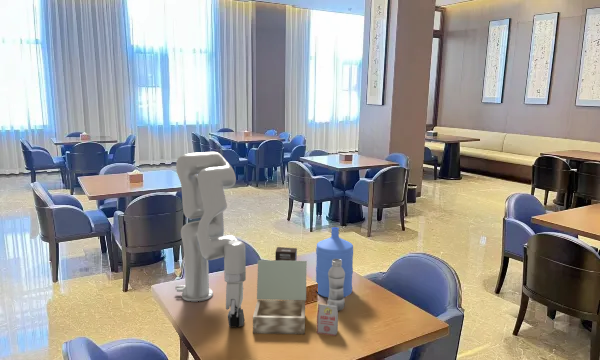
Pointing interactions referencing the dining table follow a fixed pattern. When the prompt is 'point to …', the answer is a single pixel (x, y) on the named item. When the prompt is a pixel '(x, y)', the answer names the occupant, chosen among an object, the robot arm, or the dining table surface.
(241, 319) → the block
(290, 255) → the coffee box
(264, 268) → the lid
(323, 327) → the tea bag
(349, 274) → the water jug
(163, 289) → the dining table surface
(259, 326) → the box
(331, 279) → the plastic bottle
